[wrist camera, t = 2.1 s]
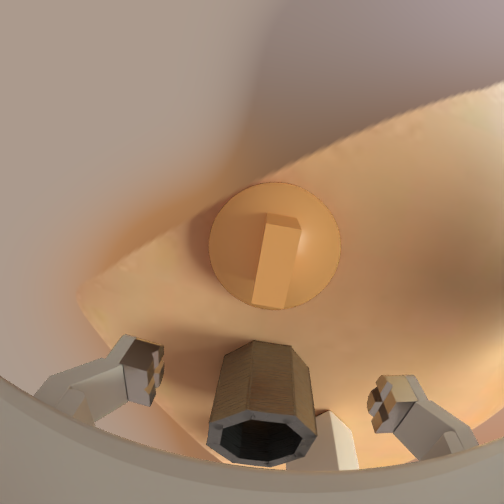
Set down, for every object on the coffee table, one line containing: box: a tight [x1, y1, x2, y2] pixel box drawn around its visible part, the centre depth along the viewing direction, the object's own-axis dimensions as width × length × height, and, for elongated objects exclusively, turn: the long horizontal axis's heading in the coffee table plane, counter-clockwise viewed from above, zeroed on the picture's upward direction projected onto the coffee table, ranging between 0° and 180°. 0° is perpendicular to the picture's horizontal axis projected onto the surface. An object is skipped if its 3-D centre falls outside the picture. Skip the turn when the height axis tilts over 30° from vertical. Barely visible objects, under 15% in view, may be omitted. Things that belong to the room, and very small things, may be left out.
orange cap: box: [209, 182, 341, 310], centre depth 23 cm, size 11×11×7 cm
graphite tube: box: [206, 340, 318, 467], centre depth 27 cm, size 10×10×10 cm
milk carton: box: [286, 411, 359, 471], centre depth 26 cm, size 7×7×19 cm
